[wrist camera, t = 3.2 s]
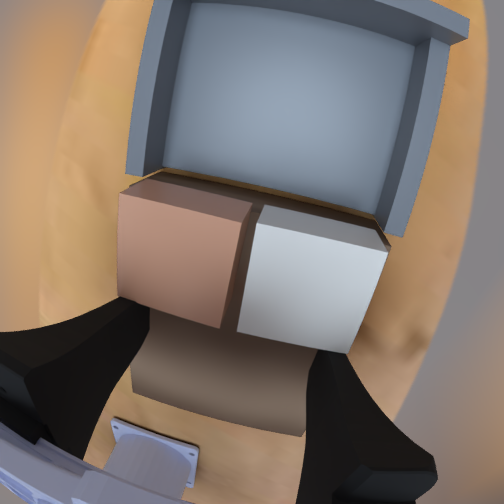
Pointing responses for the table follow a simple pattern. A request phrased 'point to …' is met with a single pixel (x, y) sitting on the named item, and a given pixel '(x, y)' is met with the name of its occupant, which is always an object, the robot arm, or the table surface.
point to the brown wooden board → (231, 343)
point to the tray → (296, 96)
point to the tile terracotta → (180, 249)
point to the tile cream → (309, 279)
